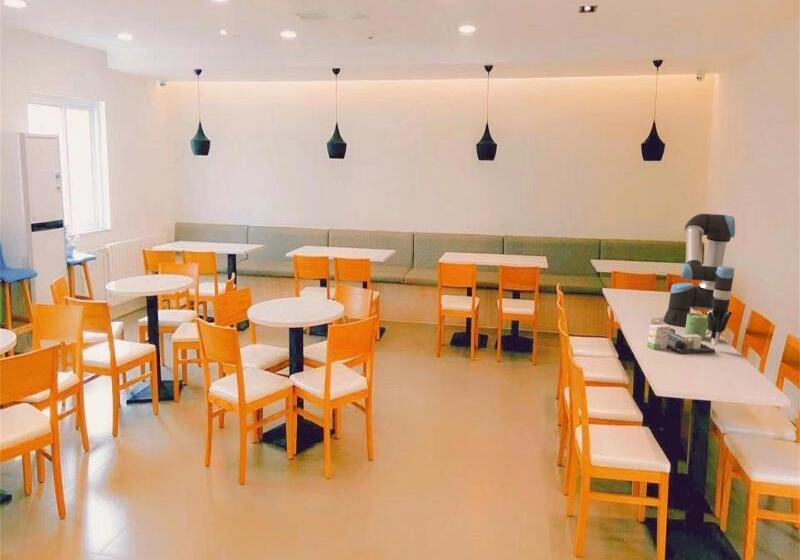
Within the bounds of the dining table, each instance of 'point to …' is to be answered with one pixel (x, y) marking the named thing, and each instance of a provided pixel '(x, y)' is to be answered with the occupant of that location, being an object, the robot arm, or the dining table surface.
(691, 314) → the mug
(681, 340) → the strap
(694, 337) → the lug slider
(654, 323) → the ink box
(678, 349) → the base tray
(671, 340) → the heat sink
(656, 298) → the dining table surface
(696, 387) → the dining table surface
